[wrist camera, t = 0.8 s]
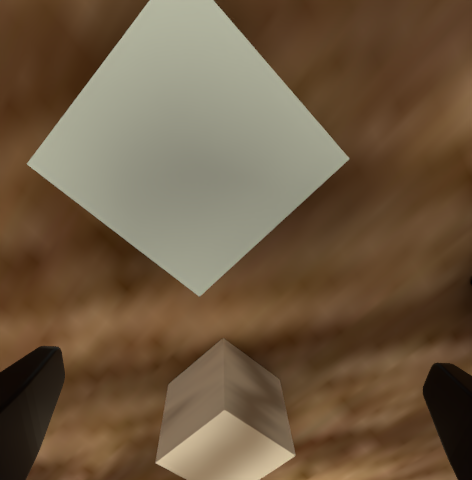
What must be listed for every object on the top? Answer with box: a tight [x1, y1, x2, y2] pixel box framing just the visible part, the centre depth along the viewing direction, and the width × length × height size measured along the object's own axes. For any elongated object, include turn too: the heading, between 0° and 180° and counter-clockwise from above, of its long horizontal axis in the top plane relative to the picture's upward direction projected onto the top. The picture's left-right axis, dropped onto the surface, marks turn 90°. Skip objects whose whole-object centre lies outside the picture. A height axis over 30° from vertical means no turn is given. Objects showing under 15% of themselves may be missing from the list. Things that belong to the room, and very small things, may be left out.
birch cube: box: [155, 338, 296, 480], centre depth 23 cm, size 6×6×6 cm
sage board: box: [27, 0, 349, 297], centre depth 19 cm, size 12×12×1 cm
